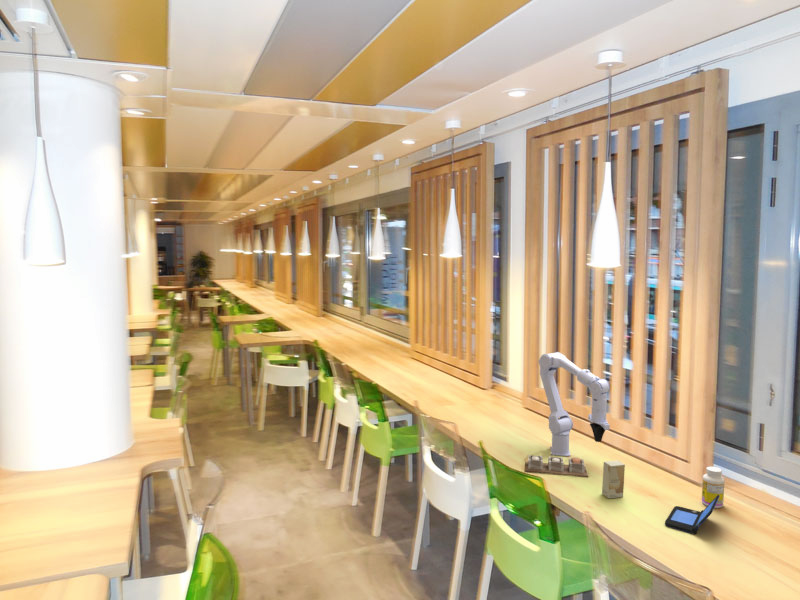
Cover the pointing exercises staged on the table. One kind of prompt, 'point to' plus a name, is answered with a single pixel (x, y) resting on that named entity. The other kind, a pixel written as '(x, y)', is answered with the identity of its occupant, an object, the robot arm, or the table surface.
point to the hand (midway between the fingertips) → (597, 441)
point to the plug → (535, 458)
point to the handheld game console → (689, 517)
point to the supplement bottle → (713, 487)
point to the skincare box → (613, 479)
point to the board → (555, 467)
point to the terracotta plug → (576, 460)
